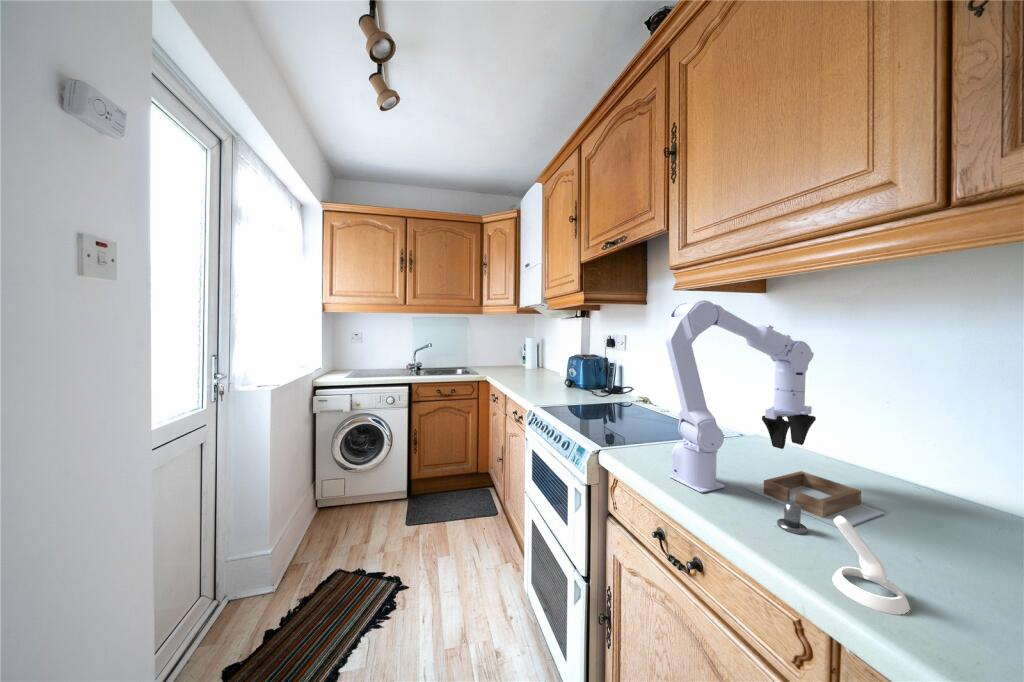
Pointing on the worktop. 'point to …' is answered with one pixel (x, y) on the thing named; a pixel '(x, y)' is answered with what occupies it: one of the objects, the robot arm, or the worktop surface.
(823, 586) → the worktop surface
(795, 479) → the wooden frame
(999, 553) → the worktop surface
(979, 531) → the worktop surface
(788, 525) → the post
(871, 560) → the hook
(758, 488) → the mat
